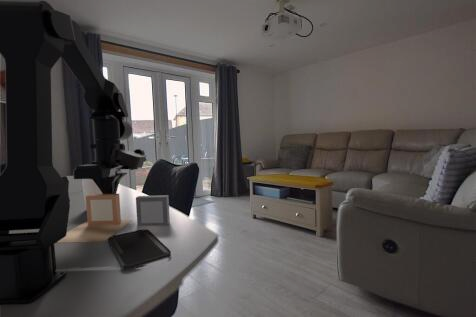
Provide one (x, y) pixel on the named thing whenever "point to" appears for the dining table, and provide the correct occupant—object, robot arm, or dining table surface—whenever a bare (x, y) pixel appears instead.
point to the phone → (137, 249)
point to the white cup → (90, 188)
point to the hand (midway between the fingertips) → (111, 202)
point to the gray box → (152, 210)
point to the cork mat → (92, 232)
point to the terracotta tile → (103, 209)
